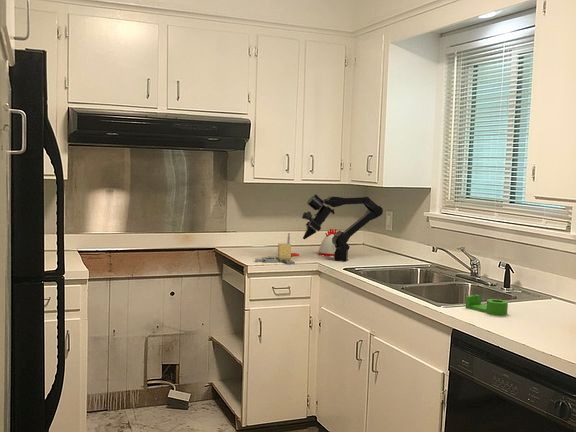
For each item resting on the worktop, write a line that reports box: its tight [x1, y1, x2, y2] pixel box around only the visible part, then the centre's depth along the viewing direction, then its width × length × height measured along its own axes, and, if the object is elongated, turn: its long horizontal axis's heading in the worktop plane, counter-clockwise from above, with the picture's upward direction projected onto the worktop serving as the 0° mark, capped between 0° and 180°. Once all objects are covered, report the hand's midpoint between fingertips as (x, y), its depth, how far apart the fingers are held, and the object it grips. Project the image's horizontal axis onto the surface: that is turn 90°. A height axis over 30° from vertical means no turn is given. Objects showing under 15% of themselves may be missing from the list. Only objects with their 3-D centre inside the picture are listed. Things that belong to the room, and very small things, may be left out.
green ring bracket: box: [465, 294, 509, 317], centre depth 230 cm, size 15×7×5 cm, turn 33°
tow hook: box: [286, 232, 300, 258], centre depth 354 cm, size 8×13×9 cm
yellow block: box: [277, 243, 292, 262], centre depth 332 cm, size 6×4×9 cm, turn 105°
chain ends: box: [254, 256, 296, 265], centre depth 327 cm, size 18×15×2 cm
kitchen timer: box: [318, 228, 339, 257], centre depth 360 cm, size 14×14×15 cm
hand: (303, 238), depth 334 cm, fingers closed
